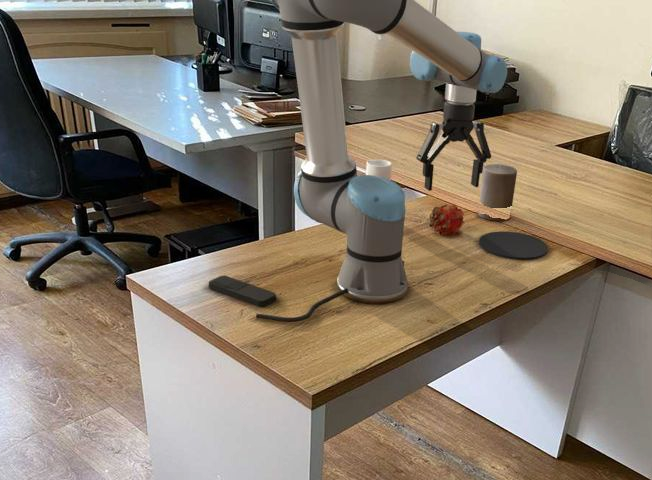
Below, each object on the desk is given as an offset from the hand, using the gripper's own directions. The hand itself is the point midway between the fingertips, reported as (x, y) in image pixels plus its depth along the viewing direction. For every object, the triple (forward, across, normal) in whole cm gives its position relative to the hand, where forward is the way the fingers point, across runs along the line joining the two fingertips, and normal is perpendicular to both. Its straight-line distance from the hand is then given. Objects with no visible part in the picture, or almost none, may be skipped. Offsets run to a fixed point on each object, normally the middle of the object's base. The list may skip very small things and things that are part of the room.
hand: (451, 187), depth 180 cm
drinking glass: (+12, +14, -15) cm, 24 cm away
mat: (+12, -13, +13) cm, 22 cm away
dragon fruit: (+12, 0, 0) cm, 12 cm away
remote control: (+12, +59, +22) cm, 64 cm away
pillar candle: (+13, -20, -9) cm, 25 cm away
